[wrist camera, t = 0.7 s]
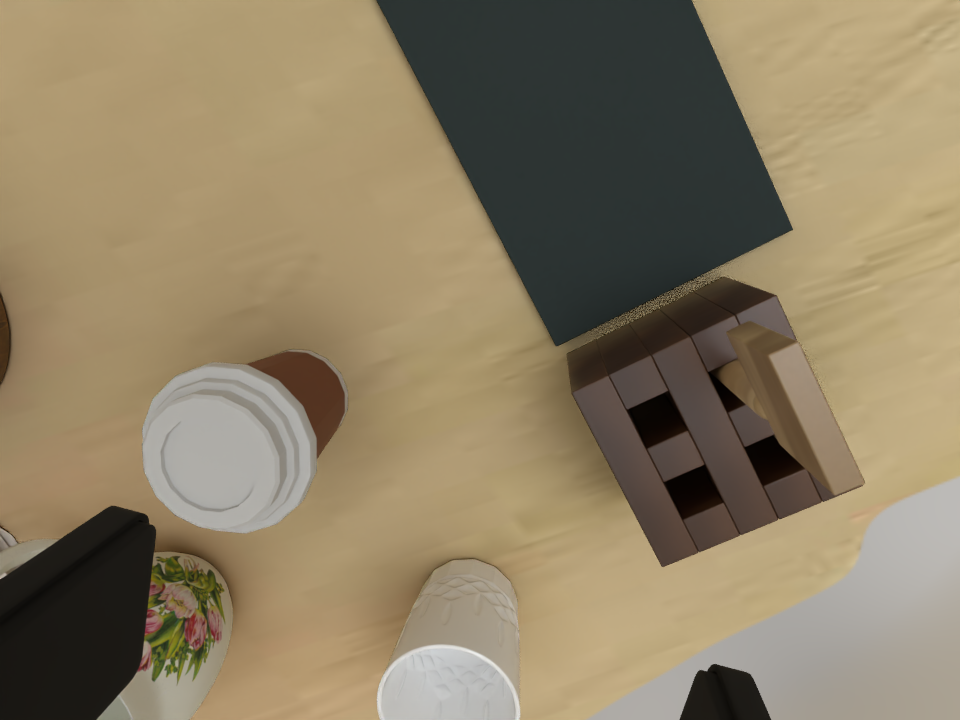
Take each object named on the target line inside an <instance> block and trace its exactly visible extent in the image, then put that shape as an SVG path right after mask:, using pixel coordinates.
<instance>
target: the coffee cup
mask: <svg viewBox="0 0 960 720" xmlns="http://www.w3.org/2000/svg"><path fill="white" fill-rule="evenodd" d="M347 410H348V390H347V388H346V385H345V383H344V380H343V378H342V375H341V373H340V372H339V371H338V370H337V369H336V368H335V367H334V366H333V365H332V363H331V362H330V361H329V360H328V359H326V358H324V357H322V356H320V355H318V354H316V353H314V352H312V351H309V350H295V349H290V350H288V351H285V352H282V353H279V354H276V355H274V356H271V357H268V358H264V359H261V360H258V361H255V362H252V363H248V364H232V363H219V362H211V363H208V364H206V365H203V366H200V367H197V368H194V369H192V370H189V371H186V372H183V373H181V374H178V375H176V376H175V377H174V378H173V379H172V380H171V381H170V382H169V383H168V384H167V385H166V386H165V387H164V388H163V389H162V390H161V391H160V392H159V393H158V394H157V395H156V396H155V397H154V398H153V400H152V402H151V405H150V408H149V411H148V414H147V417H146V419H145V422H144V425H143V428H142V434H143V443H142V454H143V467H144V472H145V475H146V477H147V479H148V481H149V483H150V485H151V487H152V489H153V491H154V493H155V496H156V497H157V498H158V499H159V500H160V501H161V502H162V503H163V504H164V505H165V506H166V507H167V508H168V509H169V510H170V511H171V512H172V513H173V514H174V515H175V516H177V517H179V518H181V519H183V520H185V521H188V522H190V523H192V524H194V525H196V526H198V527H200V528H208V529H211V530H215V531H226V532H236V533H249V532H252V531H256V530H259V529H262V528H266V527H269V526H272V525H276V524H278V523H279V522H280V521H281V520H282V519H283V518H285V517H286V516H287V515H288V514H289V513H290V512H291V511H293V510H294V509H295V508H296V507H297V506H298V505H299V504H300V503H301V502H302V501H303V500H304V499H305V496H306V494H307V492H308V489H309V487H310V485H311V483H312V480H313V478H314V476H315V473H316V471H317V458H318V457H319V455H320V454H321V452H322V451H323V449H324V448H325V446H326V445H327V444H328V442H329V441H330V439H331V438H332V436H333V435H334V433H335V432H336V430H337V429H338V428H339V427H340V426H341V424H342V421H343V419H344V417H345V414H346V412H347Z"/></svg>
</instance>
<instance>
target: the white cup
mask: <svg viewBox="0 0 960 720" xmlns="http://www.w3.org/2000/svg"><path fill="white" fill-rule="evenodd" d="M519 643H520V640H519V626H518V600H517V598H516V595H515V592H514V590H513V587H512V584H511V582H510V581H509V580H508V579H507V578H506V577H505V576H504V575H503V574H502V573H501V572H500V571H499V570H498V569H497V568H496V567H494V566H492V565H489V564H486V563H484V562H481V561H478V560H476V559H465V560H452V561H450V562H448V563H446V564H444V565H442V566H440V567H439V568H437V569H435V570H434V571H433V572H432V574H431V575H430V577H429V578H428V579H427V581H426V582H425V584H424V585H423V587H422V589H421V592H420V594H419V597H418V598H417V600H416V602H415V604H414V606H413V608H412V610H411V612H410V614H409V617H408V619H407V621H406V623H405V625H404V627H403V629H402V631H401V634H400V636H399V639H398V641H397V643H396V646H395V648H394V651H393V653H392V655H391V658H390V660H389V662H388V665H387V667H386V669H385V672H384V674H383V676H382V679H381V681H380V684H379V687H378V692H377V709H378V714H379V717H380V720H520V645H519Z"/></svg>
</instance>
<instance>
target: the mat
mask: <svg viewBox="0 0 960 720" xmlns="http://www.w3.org/2000/svg"><path fill="white" fill-rule="evenodd" d="M377 2H378V4H379V6H380V8H381V10H382V12H383V14H384V16H385V17H386V19H387V21H388V23H389V25H390V27H391V29H392V31H393V33H394V35H395V37H396V39H397V41H398V42H399V44H400V46H401V48H402V50H403V52H404V54H405V56H406V58H407V60H408V62H409V64H410V66H411V68H412V69H413V71H414V73H415V75H416V77H417V79H418V81H419V83H420V85H421V87H422V89H423V91H424V93H425V95H426V96H427V98H428V100H429V102H430V104H431V106H432V108H433V110H434V112H435V114H436V116H437V118H438V120H439V122H440V123H441V125H442V127H443V129H444V131H445V133H446V135H447V137H448V139H449V141H450V143H451V145H452V147H453V149H454V150H455V152H456V154H457V156H458V158H459V160H460V162H461V164H462V166H463V168H464V170H465V172H466V174H467V176H468V177H469V179H470V181H471V183H472V185H473V187H474V189H475V191H476V193H477V195H478V197H479V199H480V201H481V203H482V204H483V206H484V208H485V210H486V212H487V214H488V216H489V218H490V220H491V222H492V224H493V226H494V228H495V230H496V231H497V233H498V235H499V237H500V239H501V241H502V243H503V245H504V247H505V249H506V251H507V253H508V255H509V257H510V258H511V260H512V262H513V264H514V266H515V268H516V270H517V272H518V274H519V276H520V278H521V280H522V282H523V284H524V285H525V287H526V289H527V291H528V293H529V295H530V297H531V299H532V301H533V303H534V305H535V307H536V309H537V311H538V312H539V314H540V316H541V318H542V320H543V322H544V324H545V326H546V328H547V330H548V332H549V334H550V336H551V337H552V339H553V341H554V343H555V345H556V346H559V345H561V344H563V343H565V342H567V341H569V340H571V339H573V338H575V337H577V336H579V335H581V334H583V333H585V332H587V331H589V330H591V329H593V328H595V327H597V326H599V325H601V324H603V323H605V322H607V321H609V320H611V319H613V318H615V317H617V316H619V315H621V314H623V313H625V312H627V311H629V310H631V309H633V308H635V307H637V306H639V305H641V304H643V303H645V302H647V301H649V300H652V299H654V298H656V297H658V296H660V295H662V294H664V293H666V292H668V291H670V290H672V289H674V288H676V287H678V286H680V285H682V284H684V283H686V282H688V281H690V280H692V279H694V278H696V277H698V276H700V275H702V274H704V273H706V272H708V271H710V270H712V269H714V268H716V267H718V266H720V265H722V264H724V263H726V262H728V261H730V260H732V259H734V258H736V257H738V256H740V255H742V254H744V253H747V252H749V251H751V250H753V249H755V248H757V247H759V246H761V245H763V244H765V243H767V242H769V241H771V240H773V239H775V238H777V237H779V236H781V235H783V234H785V233H787V232H789V231H791V230H793V228H792V226H791V224H790V221H789V219H788V217H787V215H786V212H785V210H784V208H783V206H782V203H781V201H780V199H779V197H778V194H777V192H776V190H775V188H774V185H773V183H772V181H771V179H770V176H769V174H768V172H767V170H766V167H765V165H764V163H763V160H762V158H761V156H760V154H759V151H758V149H757V147H756V145H755V142H754V140H753V138H752V136H751V133H750V131H749V129H748V127H747V124H746V122H745V120H744V118H743V115H742V113H741V111H740V109H739V106H738V104H737V102H736V100H735V97H734V95H733V93H732V91H731V88H730V86H729V84H728V82H727V79H726V77H725V75H724V73H723V70H722V68H721V66H720V63H719V61H718V59H717V57H716V54H715V52H714V50H713V48H712V45H711V43H710V41H709V39H708V36H707V34H706V32H705V30H704V27H703V25H702V23H701V21H700V18H699V16H698V14H697V12H696V9H695V7H694V5H693V3H692V0H377Z"/></svg>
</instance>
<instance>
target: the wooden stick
mask: <svg viewBox="0 0 960 720" xmlns="http://www.w3.org/2000/svg"><path fill="white" fill-rule="evenodd" d="M726 334H727V336H728V339H729V341H730V343H731V345H732V347H733V349H734V351H735V353H736V355H737V357H738V359H736V360H734V361H731V362H729V363H727V364H725V365H723V366H721V367H718V368H716V369H714V370H712V371H710V373H711V374H712V375H714V376H715V377H716V378H717V379H718V380H719V381H720V382H721V383H723V384H724V385H725V386H726V387H727V388H728V389H729V390H730V391H732V392H733V393H734V394H735V395H736V396H737V397H738V398H739V399H740V400H742V401H743V402H744V403H745V404H746V405H747V406H748V407H749V408H751V409H752V410H753V411H754V412H755V413H756V414H757V415H758V416H760V417H761V418H763V419H765V420H768V422H769V424H770V426H771V428H772V430H773V432H774V434H775V436H776V438H777V440H778V442H779V444H780V445H781V446H782V447H783V448H784V449H785V450H786V451H787V452H788V453H789V454H790V455H791V456H793V457H794V458H795V459H796V460H797V461H798V462H799V463H800V464H801V465H802V466H803V467H804V468H805V469H806V470H807V471H809V472H810V473H811V474H812V475H813V476H814V477H815V478H816V479H817V480H818V481H819V482H820V483H821V484H822V485H823V486H824V487H826V488H827V489H828V490H829V491H830V492H831V493H832V494H833V495H838V494H841V493H843V492H846V491H848V490H851V489H853V488H856V487H858V486H861V485H863V484H864V483H865V481H864V479H863V477H862V475H861V473H860V470H859V468H858V466H857V464H856V462H855V460H854V458H853V456H852V453H851V451H850V449H849V447H848V445H847V443H846V441H845V439H844V436H843V434H842V432H841V430H840V428H839V426H838V424H837V421H836V419H835V417H834V415H833V413H832V411H831V409H830V407H829V404H828V402H827V400H826V398H825V396H824V394H823V392H822V389H821V387H820V385H819V383H818V381H817V379H816V377H815V375H814V372H813V370H812V368H811V366H810V364H809V362H808V360H807V358H806V355H805V353H804V351H803V349H802V347H801V345H800V343H799V342H798V341H796V340H794V339H792V338H789V337H787V336H785V335H782V334H780V333H778V332H775V331H773V330H771V329H768V328H766V327H764V326H761V325H759V324H757V323H754V322H752V321H747V322H745V323H743V324H741V325H739V326H737V327H735V328H733V329H730V330H728V331H727V332H726Z"/></svg>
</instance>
